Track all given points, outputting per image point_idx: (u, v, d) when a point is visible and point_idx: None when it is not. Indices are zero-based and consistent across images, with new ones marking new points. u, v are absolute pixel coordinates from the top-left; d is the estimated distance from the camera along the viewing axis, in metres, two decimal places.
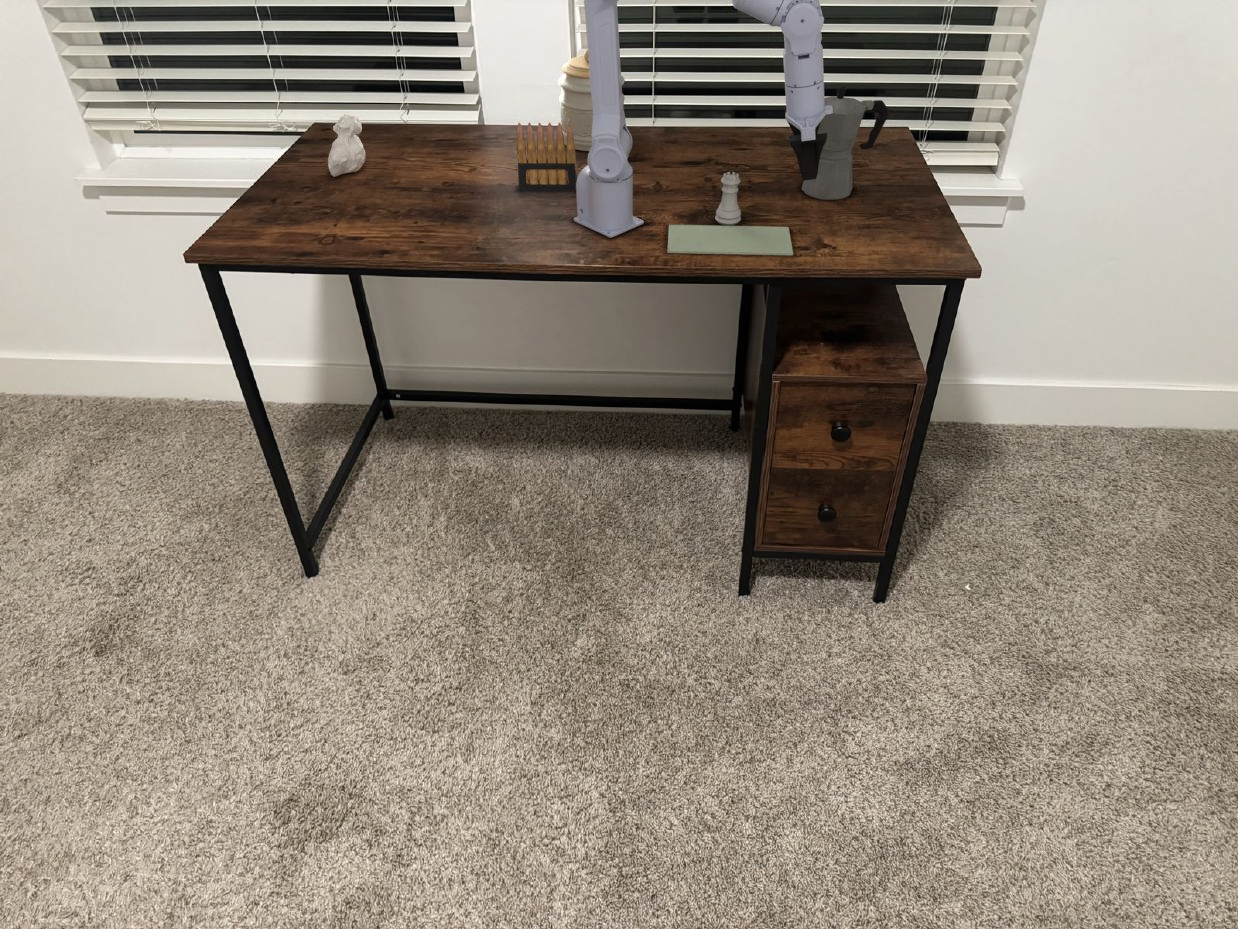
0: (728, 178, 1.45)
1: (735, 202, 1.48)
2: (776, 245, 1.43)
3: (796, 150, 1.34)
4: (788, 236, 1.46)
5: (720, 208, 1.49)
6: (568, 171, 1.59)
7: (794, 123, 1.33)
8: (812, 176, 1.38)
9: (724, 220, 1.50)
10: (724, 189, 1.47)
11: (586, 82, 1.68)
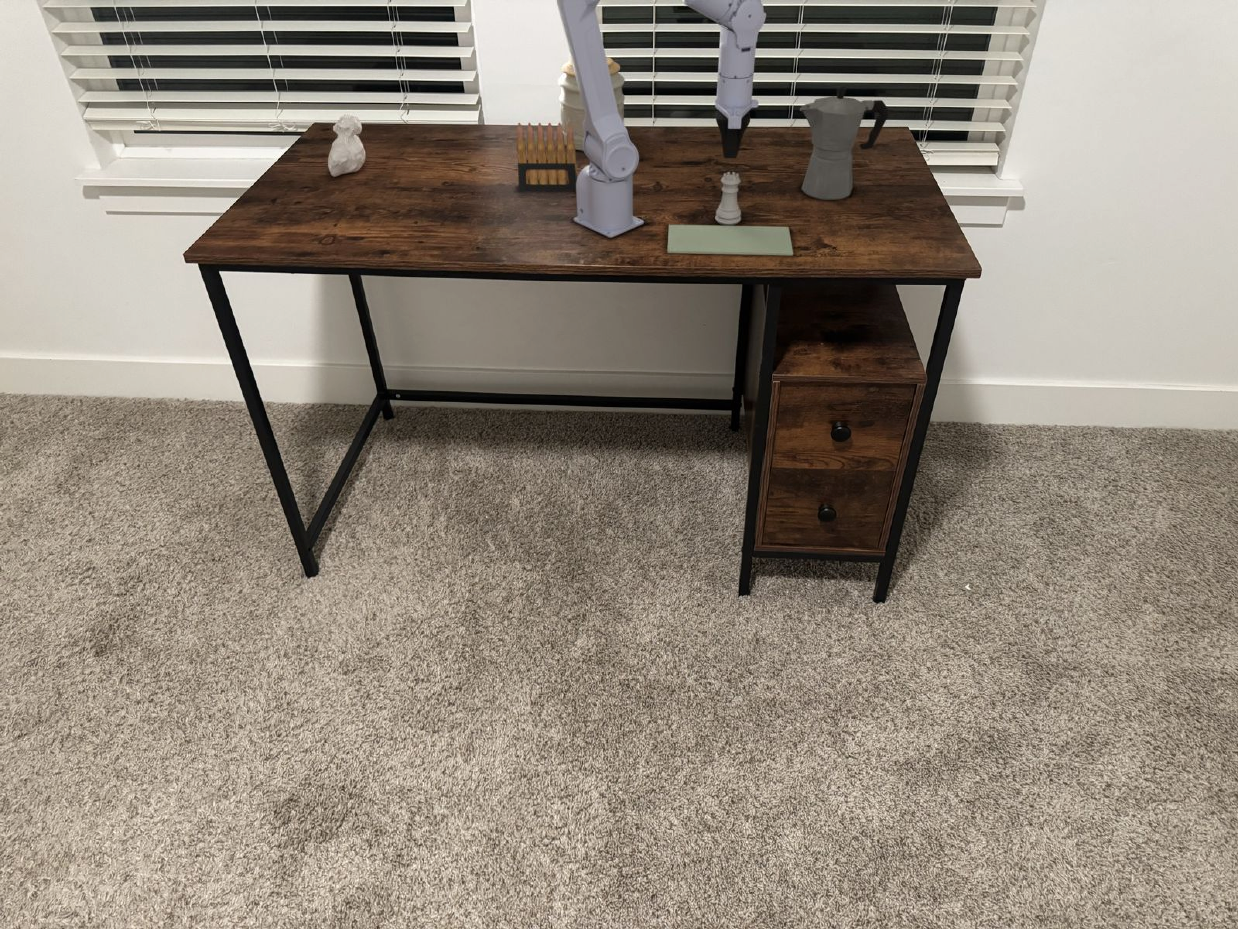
0: (728, 178, 1.45)
1: (735, 202, 1.48)
2: (776, 245, 1.43)
3: (721, 128, 1.47)
4: (788, 236, 1.46)
5: (720, 208, 1.49)
6: (568, 171, 1.59)
7: (723, 111, 1.43)
8: (732, 155, 1.51)
9: (724, 220, 1.50)
10: (724, 189, 1.47)
11: None
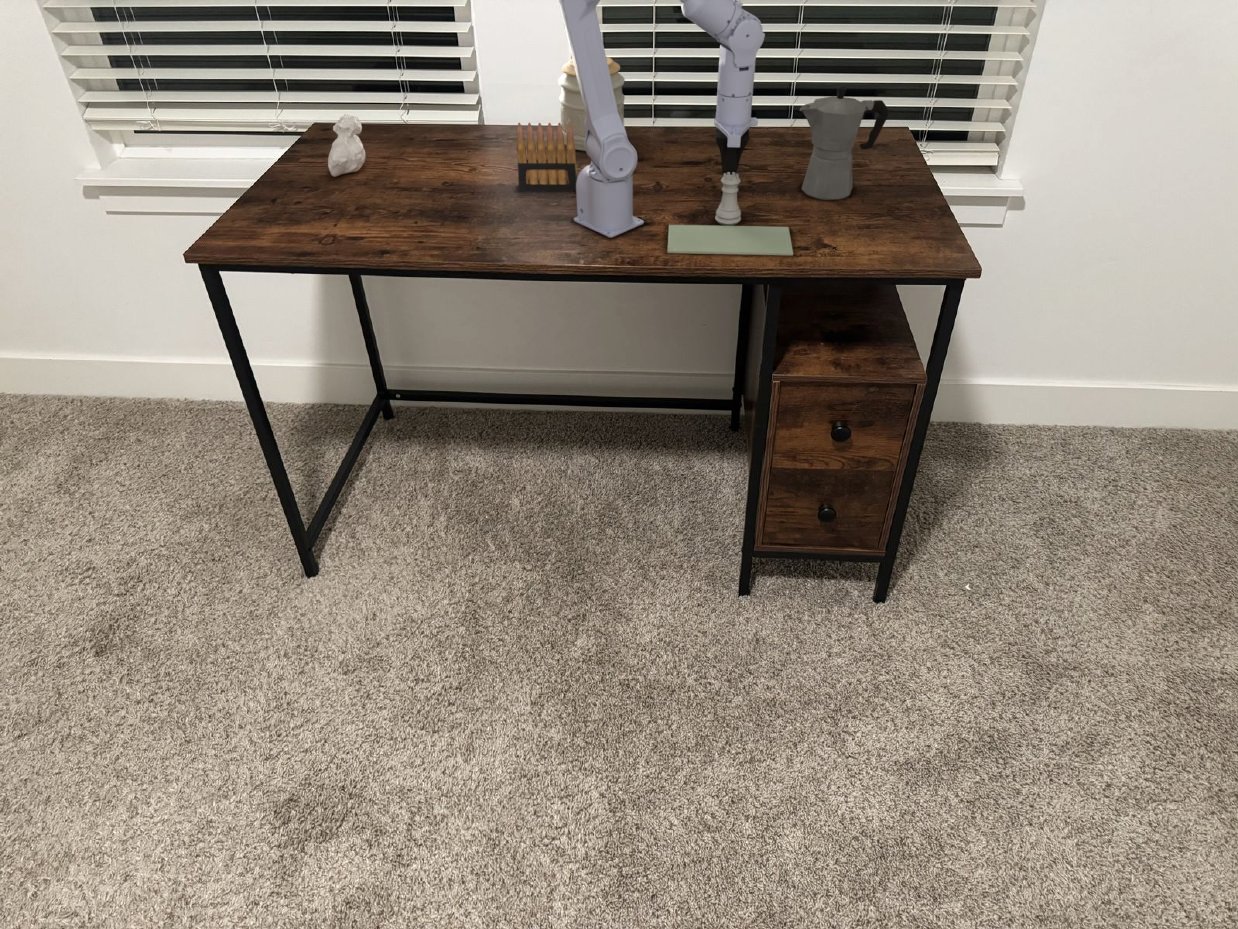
0: (728, 178, 1.45)
1: (735, 202, 1.48)
2: (776, 245, 1.43)
3: (720, 146, 1.47)
4: (788, 236, 1.46)
5: (720, 208, 1.49)
6: (568, 171, 1.59)
7: (722, 129, 1.43)
8: (731, 172, 1.51)
9: (724, 220, 1.50)
10: (724, 189, 1.47)
11: None
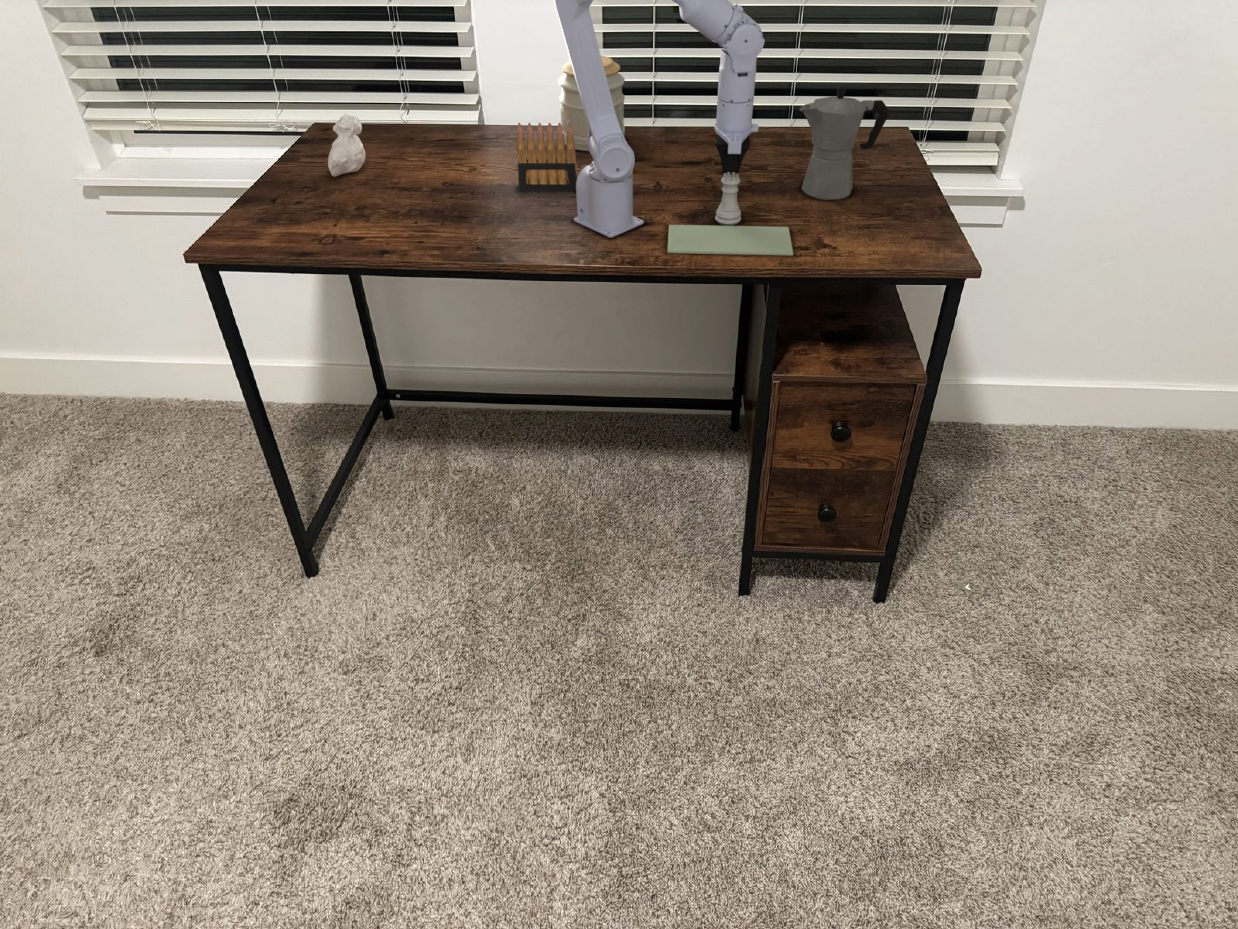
0: (728, 178, 1.45)
1: (735, 202, 1.48)
2: (776, 245, 1.43)
3: (721, 153, 1.45)
4: (788, 236, 1.46)
5: (720, 208, 1.49)
6: (568, 171, 1.59)
7: (722, 135, 1.41)
8: None
9: (724, 220, 1.50)
10: (724, 189, 1.47)
11: None
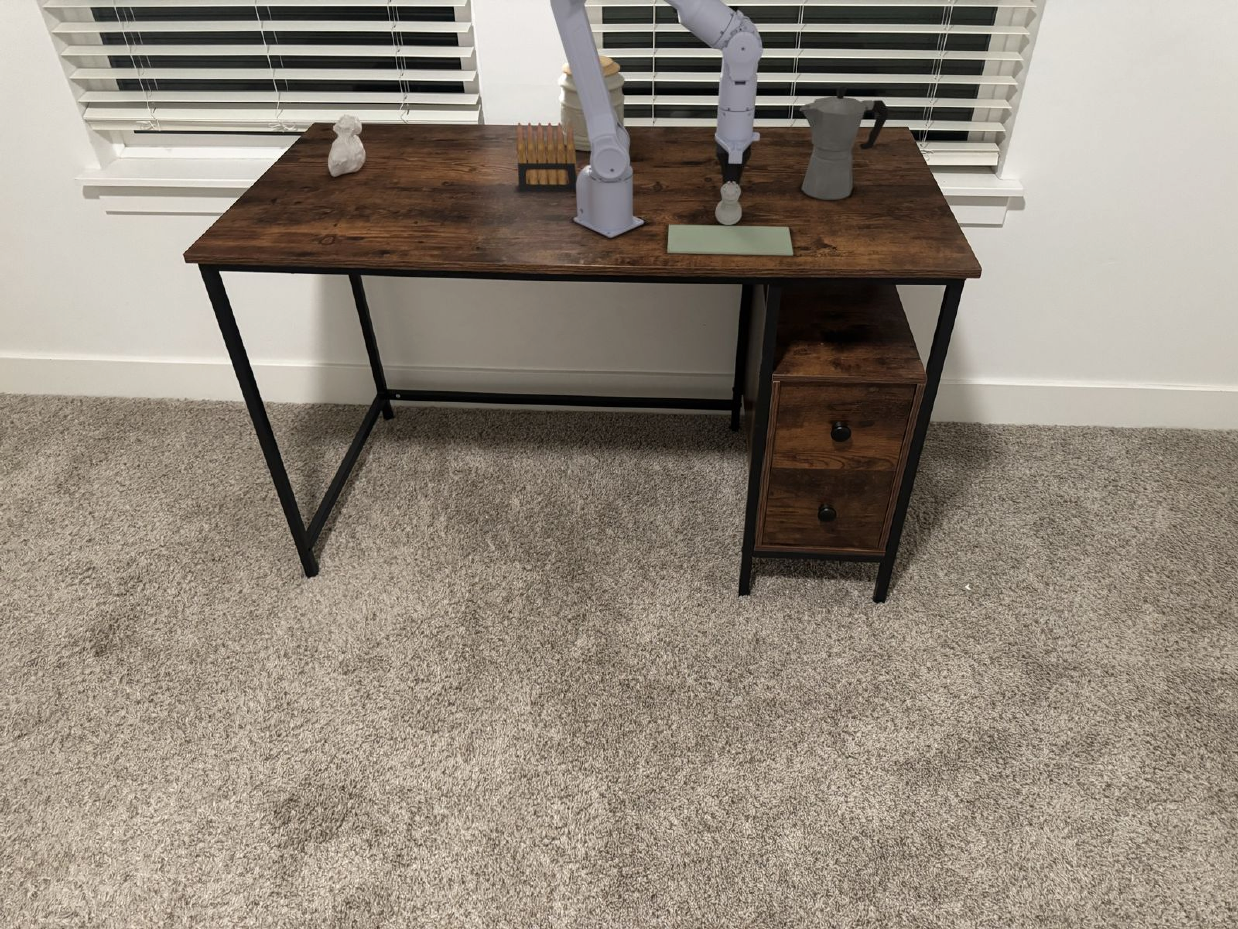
0: (728, 194, 1.42)
1: (735, 207, 1.47)
2: (776, 245, 1.43)
3: (721, 162, 1.42)
4: (788, 236, 1.46)
5: (720, 210, 1.48)
6: (568, 171, 1.59)
7: (723, 144, 1.38)
8: None
9: (724, 221, 1.49)
10: (724, 199, 1.45)
11: None
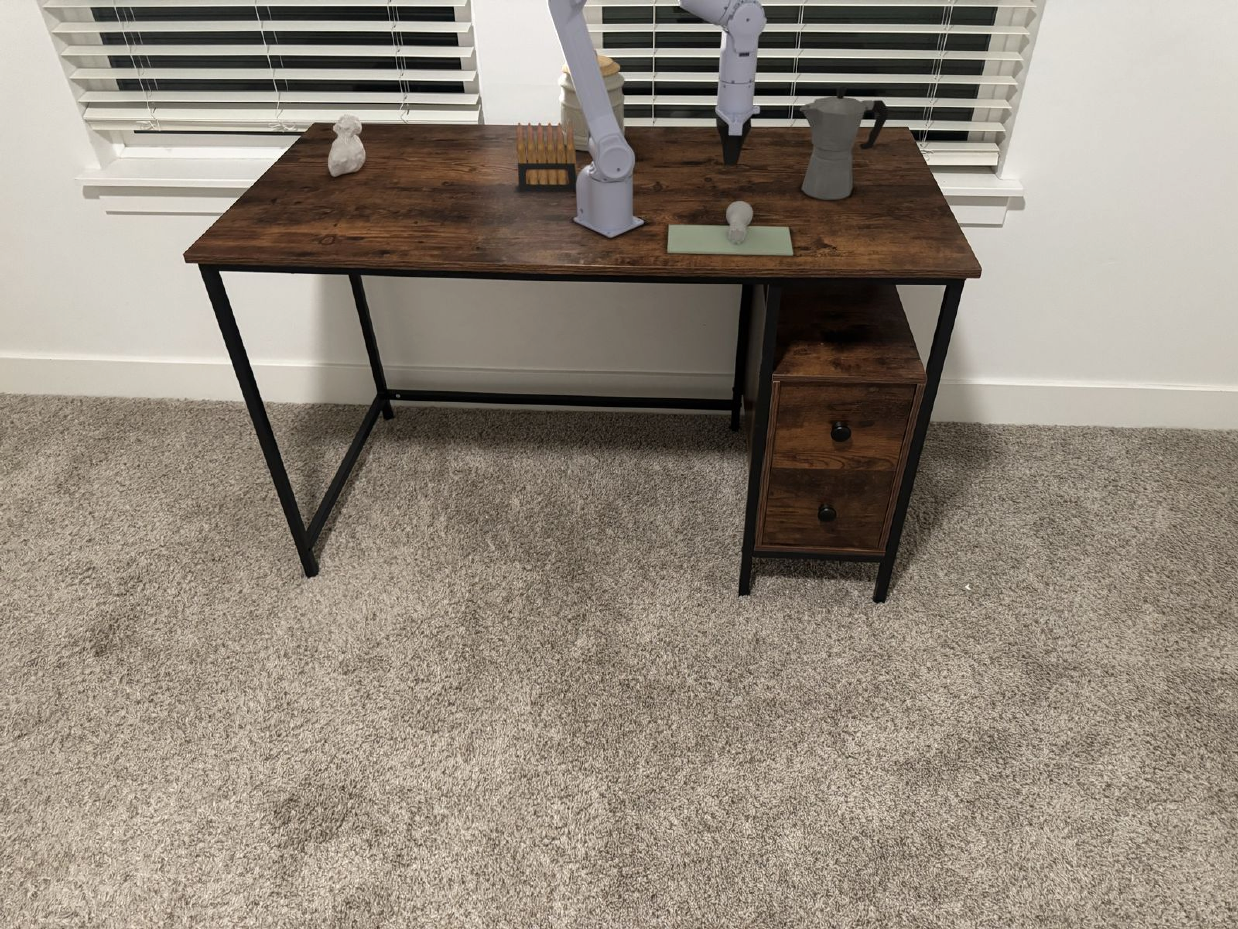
0: (729, 238, 1.43)
1: None
2: (776, 245, 1.43)
3: (722, 135, 1.43)
4: (788, 236, 1.46)
5: (729, 216, 1.46)
6: (568, 171, 1.59)
7: (723, 117, 1.39)
8: (733, 162, 1.47)
9: None
10: None
11: None
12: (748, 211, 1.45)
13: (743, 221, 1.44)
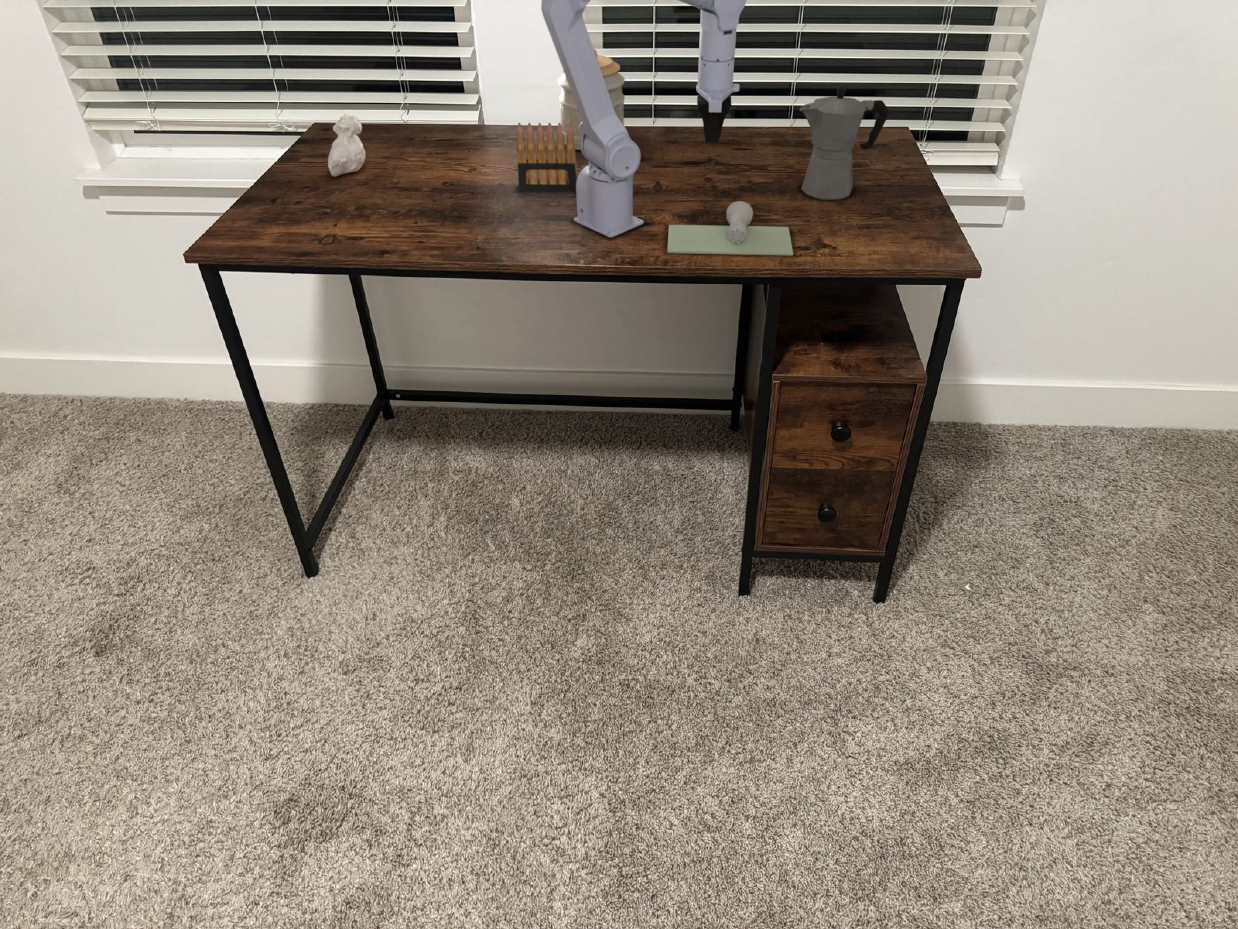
0: (729, 238, 1.43)
1: None
2: (776, 245, 1.43)
3: (702, 113, 1.46)
4: (788, 236, 1.46)
5: (729, 216, 1.46)
6: (568, 171, 1.59)
7: (703, 94, 1.43)
8: (714, 140, 1.50)
9: None
10: None
11: None
12: (748, 211, 1.45)
13: (743, 221, 1.44)
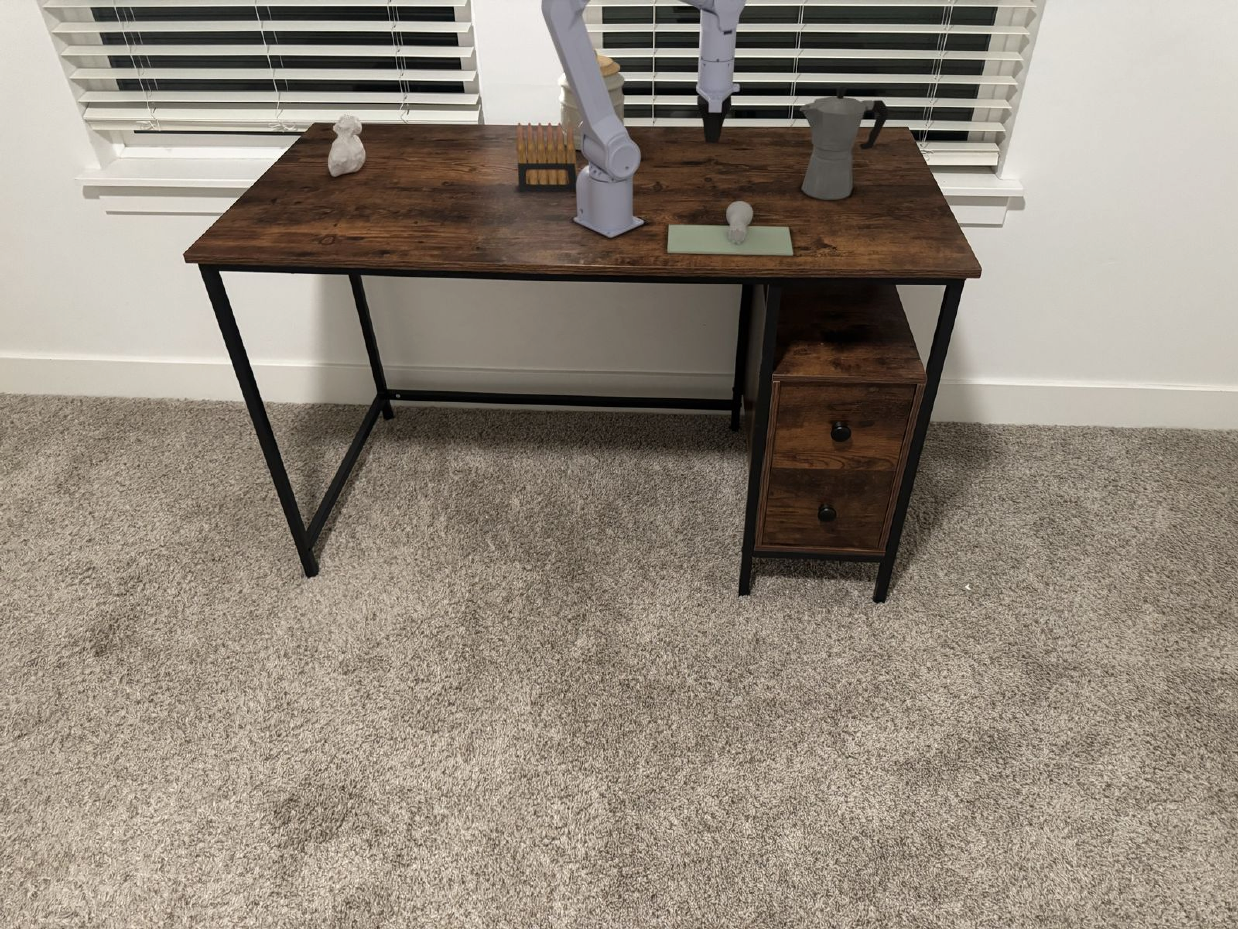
0: (729, 238, 1.43)
1: None
2: (776, 245, 1.43)
3: (702, 113, 1.46)
4: (788, 236, 1.46)
5: (729, 216, 1.46)
6: (568, 171, 1.59)
7: (703, 94, 1.43)
8: (714, 140, 1.50)
9: None
10: None
11: None
12: (748, 211, 1.45)
13: (743, 221, 1.44)
